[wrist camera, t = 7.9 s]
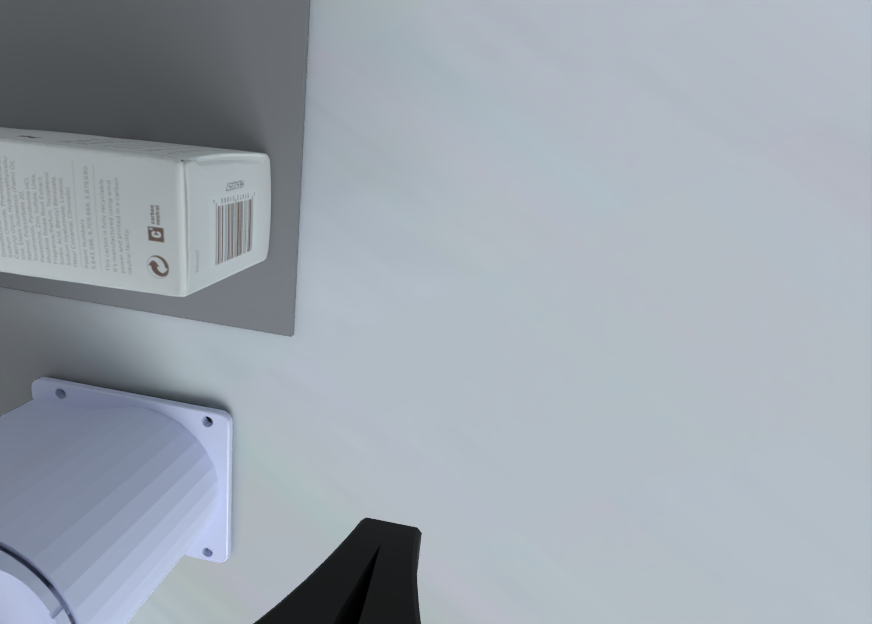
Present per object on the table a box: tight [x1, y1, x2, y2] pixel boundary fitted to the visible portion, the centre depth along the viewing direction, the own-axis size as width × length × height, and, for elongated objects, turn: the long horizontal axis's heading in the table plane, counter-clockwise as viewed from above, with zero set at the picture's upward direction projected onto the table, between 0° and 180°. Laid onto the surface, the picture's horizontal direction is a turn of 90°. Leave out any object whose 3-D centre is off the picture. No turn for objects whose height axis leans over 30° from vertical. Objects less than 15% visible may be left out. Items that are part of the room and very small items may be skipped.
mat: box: [0, 0, 310, 337], centre depth 21 cm, size 16×16×1 cm
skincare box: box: [0, 127, 271, 297], centre depth 19 cm, size 6×4×12 cm
